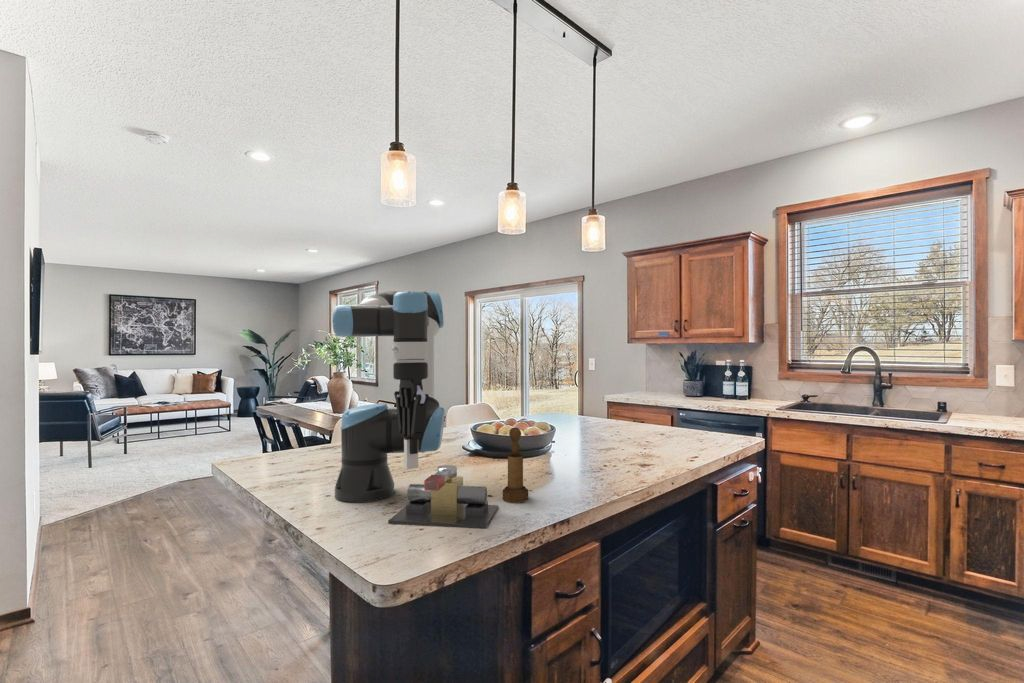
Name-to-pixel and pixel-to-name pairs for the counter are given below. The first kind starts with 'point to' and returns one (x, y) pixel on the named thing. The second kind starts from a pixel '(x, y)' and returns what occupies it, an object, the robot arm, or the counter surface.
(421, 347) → the robot arm
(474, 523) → the valve
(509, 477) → the brown pepper mill
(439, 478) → the lever
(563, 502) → the counter surface
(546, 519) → the counter surface
